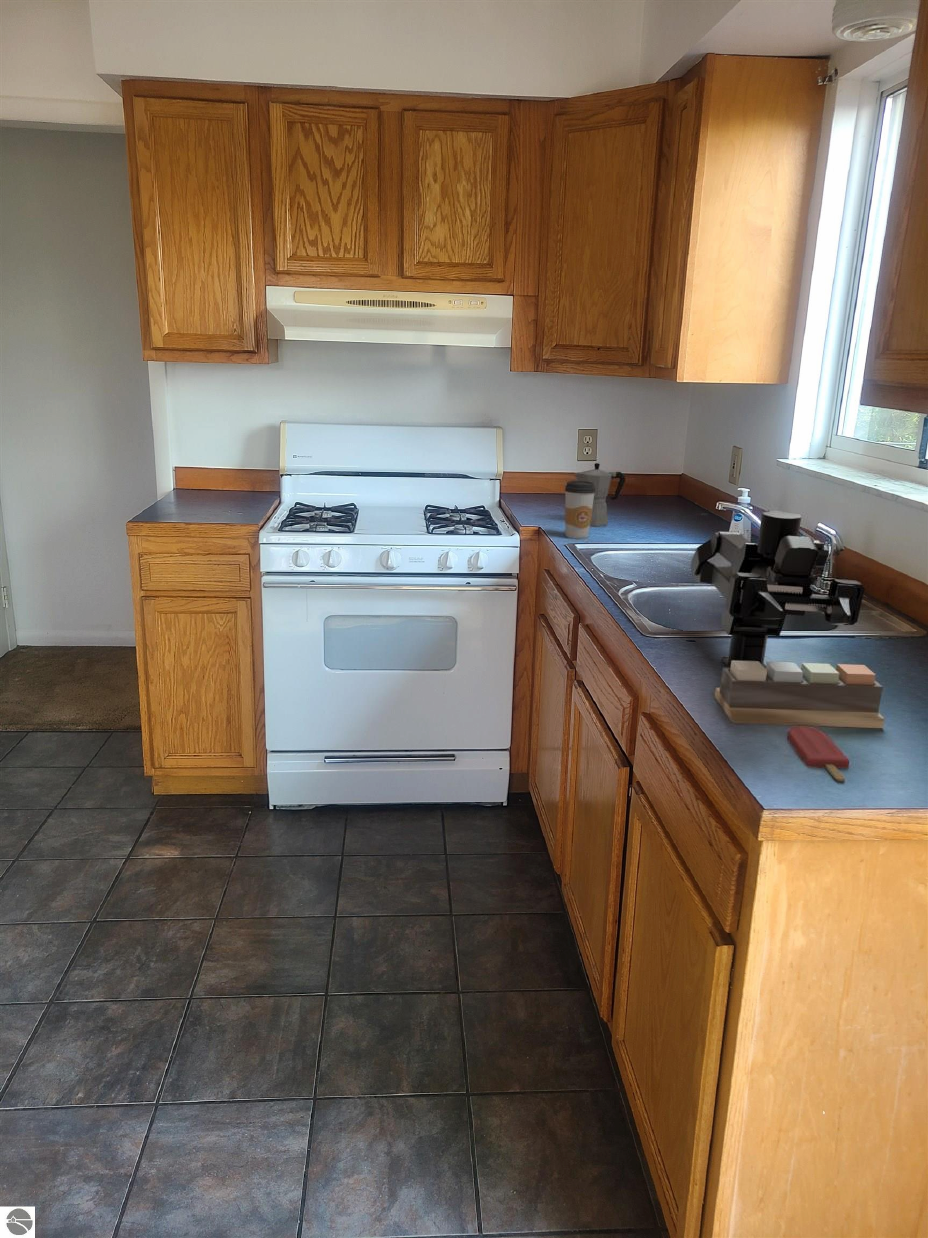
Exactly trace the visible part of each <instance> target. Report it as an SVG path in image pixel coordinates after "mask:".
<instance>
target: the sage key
mask: <svg viewBox="0 0 928 1238" xmlns="http://www.w3.org/2000/svg"><path fill="white" fill-rule="evenodd" d="M800 669H801V670H802V671H803V678H804V679H805V680H806V681H807V682H808V683H828V684H838V679H839V672H837V671H836V668H834V667H833V666H832V665H831V664H830V663H821V662H820V663H816V662H815V663H814V662H811V663H810V662H801V667H800Z"/></svg>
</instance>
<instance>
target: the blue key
mask: <svg viewBox="0 0 928 1238" xmlns="http://www.w3.org/2000/svg"><path fill="white" fill-rule="evenodd" d="M765 665H766V670H767V674H766V675H767V676H768V677H769V678H770V679H771V680H772V682H800V683H802V677H803V671H802V670H801V667H799V666H798V665H797V664H796V663H795V662H789V661H787V662H785V661H766V664H765Z"/></svg>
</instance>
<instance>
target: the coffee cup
mask: <svg viewBox="0 0 928 1238" xmlns="http://www.w3.org/2000/svg"><path fill="white" fill-rule="evenodd" d="M564 492H565V495H564V496H565V501H564V503H565V505H564V524H565V526H564V527H565V531H564V532H565V536H566V538H569V539H574V540H575V539H576V540H584V539H587V538H588V536H589V534H590V527H591V526H590V523H591V516H592V509H593V508H592V506H593V499H594V493H595V487H594V483H592V482H588V481H578V480H568V481H567V483H566V485H565V489H564Z"/></svg>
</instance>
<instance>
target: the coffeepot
mask: <svg viewBox="0 0 928 1238" xmlns="http://www.w3.org/2000/svg"><path fill="white" fill-rule="evenodd" d="M600 466H601V464H600V463H599V462H595V463H594V469H590V470H584V471H579V472H576V473H574V474H573V476H574V477H575V478H576V479H577V481H588V482H592V483H594V487H595V493H594V499H593V506H592V508H593V509H592V516H591V523H590V527H591V528H592V527H594V528H601V527H605V526H607V525H608V523H609V520H608V519H609V518H608V507H607V502H606V500H607V497H608V495H609V494H608V493H609V489H610V485H611V480H613V479H619V481H618V483H617V487H616V489H615V492H614V495H613V496H610V500H613V501H614V500H618V499H619V497H620V494H621V491H622V490H623V487H624V484H625V482H626V476H625V475H624V474H623V472H621V471H604V470H602V469H600Z"/></svg>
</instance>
